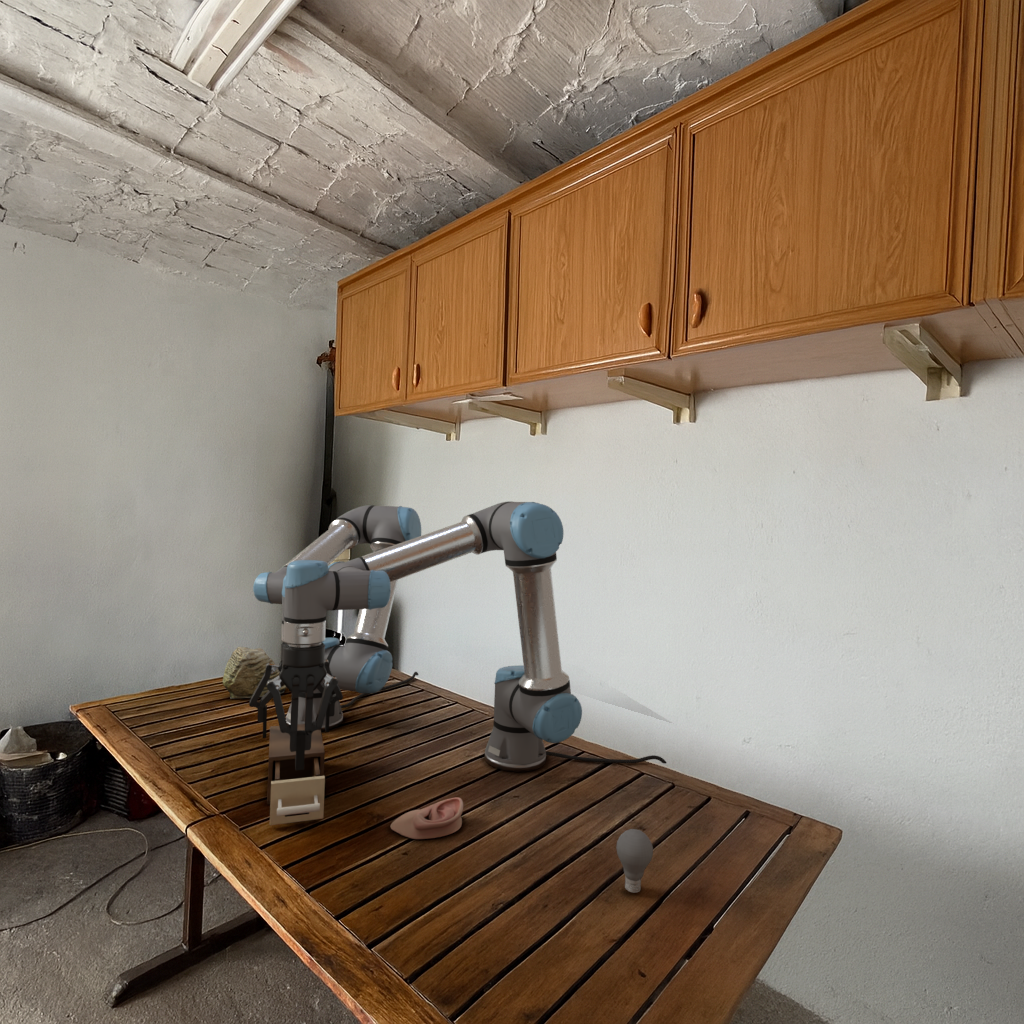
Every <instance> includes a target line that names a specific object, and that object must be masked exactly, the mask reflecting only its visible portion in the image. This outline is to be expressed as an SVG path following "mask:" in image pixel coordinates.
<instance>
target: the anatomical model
mask: <svg viewBox="0 0 1024 1024" xmlns="http://www.w3.org/2000/svg"><path fill="white" fill-rule="evenodd" d="M463 812H464V801H463V799H462V797H450V798H446V799H443V800H440V801H438V802H435V803H433V804H430V805H428V806H426V807H424V808H421V809H413V810H410V811H408V812H405V813H404V814H402V815H400V816H398V817H397V818H395V819H394V820H393V821H392V822H391V824H390V829H391V830H392V831H394V832H395V833H397V834H399V835H401V836H403V837H405V838H409V839H412V840H425V839H427V840H428V839H435V838H441V837H445V836H448V835H452V834H453V833H456V832H457V831H459V830H460V829H461V827H462V825H463V819H462V814H463Z"/></svg>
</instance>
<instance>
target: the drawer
mask: <svg viewBox="0 0 1024 1024" xmlns="http://www.w3.org/2000/svg"><path fill="white" fill-rule="evenodd" d="M325 787H326V776H325V775H324V776H320V770H319V763H318V757H308V758H304V770H296V768H295V759H287V760H277V761H275V781H271V802H270V804H269V826H274V825H275V826H276V825H283V824H290V823H298V822H307V821H314V820H323V819H324V812H325V790H326V789H325Z"/></svg>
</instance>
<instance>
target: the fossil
mask: <svg viewBox="0 0 1024 1024" xmlns="http://www.w3.org/2000/svg"><path fill="white" fill-rule="evenodd" d="M269 662H270V663H271V664H276V663H275V662H274V660H273V659H272V658H271V657H270V656H269V655H268V654H267V653H266V652H265V650H264V649H263V648H260V647H258V648H251V647H247V646H246V647H245V646H238V647H237V648H236V649H235V650H233V651H232V653H231V656H230V657H229V659H228V660H227V663H226V666H225V668H224V671H223V675H222V676H223V677H222V685H223V687H224V688H225V690H226V691H228V693H229V698H230V699H251V697H252V695H253V694H254V692H255V690H256V688H257V686H258V684H259V683H260V681H261V679H262V677H263V675H264V673H265V670H266V664H267V663H269ZM277 676H279V670H276V671H275V673H274V674H271V675H270V678H269V680H270V679H271V680H273V679H274V678H276V677H277ZM286 689H287V687H286V686H285V685H283V686H282V687H281V688H280V689H279V691H280V694H284V693H285V691H286ZM268 691H269V690H268V689H267V684H266V686H265V687H264V689H263V691H262V693H261V695H260V697H259V698H262V697H263V696H264V695H265V694H266V693H267V692H268Z"/></svg>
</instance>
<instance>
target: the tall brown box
mask: <svg viewBox="0 0 1024 1024" xmlns="http://www.w3.org/2000/svg"><path fill="white" fill-rule="evenodd" d="M300 730H305V724H298V727H297V731H300ZM323 741H324V740H323V735H322V731H321V729H320V730H316V731H314V732H313V733H312V736H311V749H310V750H305V756H304V758H308V757H318V763H319V770H320V776H325V756H326V755H325V753H326V752H325V747H324V742H323ZM287 759H296V751H294V752H291V751H290V735H289V734H288V733H282V732H281V731H280V727H279V725H271V726H269V743H268V768H267V769H268V771H267V795H266V797H267V798H266V805H270V802H271V781H275V761H277V760H287Z"/></svg>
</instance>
